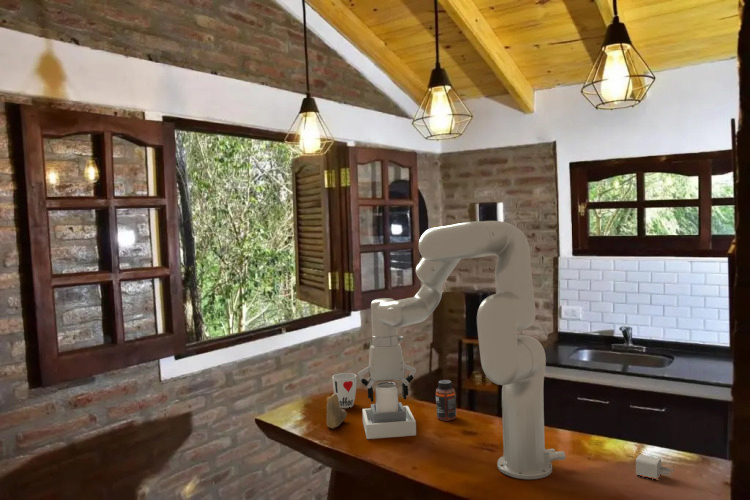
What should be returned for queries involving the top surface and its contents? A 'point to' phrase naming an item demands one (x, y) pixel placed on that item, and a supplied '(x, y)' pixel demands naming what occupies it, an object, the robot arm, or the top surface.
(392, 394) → the can
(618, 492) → the top surface
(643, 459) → the usb wall charger
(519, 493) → the top surface
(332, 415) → the stone
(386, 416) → the inlet box
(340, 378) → the cup
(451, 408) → the supplement bottle
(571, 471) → the top surface
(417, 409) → the top surface
